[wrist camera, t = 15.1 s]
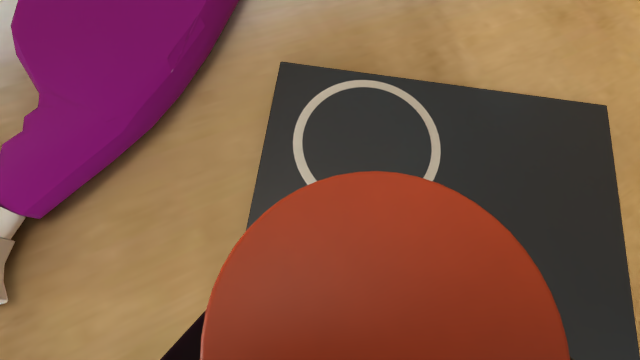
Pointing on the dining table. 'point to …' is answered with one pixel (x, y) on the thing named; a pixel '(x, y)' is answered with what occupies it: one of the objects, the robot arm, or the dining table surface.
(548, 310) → the white and orange cylinder
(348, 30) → the dining table surface
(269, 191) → the board
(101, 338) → the dining table surface
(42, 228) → the dining table surface
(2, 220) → the spray bottle
